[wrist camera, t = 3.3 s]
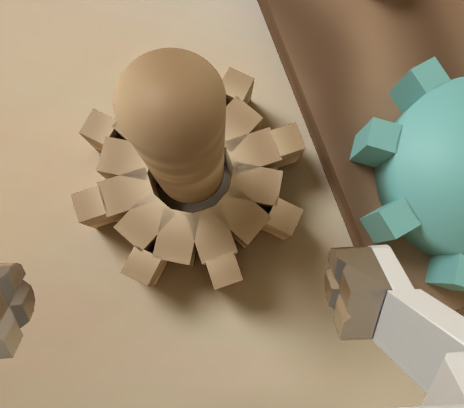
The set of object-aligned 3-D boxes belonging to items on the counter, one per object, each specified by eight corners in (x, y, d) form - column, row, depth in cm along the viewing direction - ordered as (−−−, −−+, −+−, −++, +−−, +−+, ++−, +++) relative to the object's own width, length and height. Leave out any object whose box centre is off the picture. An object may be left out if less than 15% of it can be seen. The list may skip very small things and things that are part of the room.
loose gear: (122, 320, 20) (20, 370, 10) (63, 119, 22) (-75, -17, 12) (329, 248, 21) (432, 224, 11) (257, 60, 23) (287, -114, 13)
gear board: (385, 328, 21) (419, 338, 17) (234, -59, 24) (236, -113, 21) (619, 240, 22) (694, 234, 18) (441, -116, 25) (476, -177, 22)
